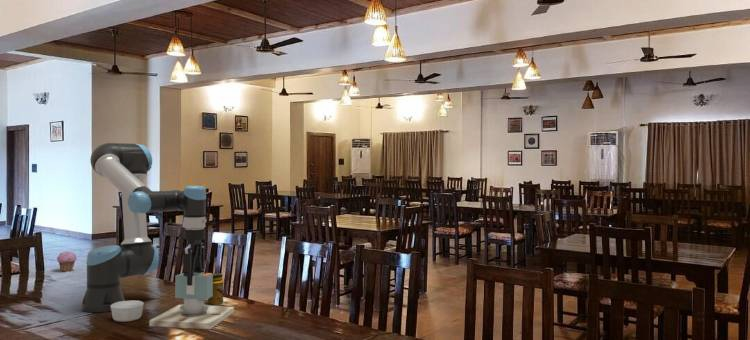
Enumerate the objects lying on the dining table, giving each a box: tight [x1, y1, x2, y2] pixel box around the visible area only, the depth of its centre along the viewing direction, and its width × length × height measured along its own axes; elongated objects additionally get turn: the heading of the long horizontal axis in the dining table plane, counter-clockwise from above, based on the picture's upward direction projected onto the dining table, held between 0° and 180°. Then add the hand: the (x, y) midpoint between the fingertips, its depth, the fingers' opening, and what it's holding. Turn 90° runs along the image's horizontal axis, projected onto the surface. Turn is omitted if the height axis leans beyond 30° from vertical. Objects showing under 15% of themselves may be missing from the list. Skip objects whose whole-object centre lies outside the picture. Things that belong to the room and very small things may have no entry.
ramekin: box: [110, 299, 145, 323], centre depth 201 cm, size 11×11×5 cm
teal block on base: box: [174, 272, 213, 314], centre depth 202 cm, size 12×7×14 cm, turn 83°
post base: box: [148, 304, 235, 330], centre depth 202 cm, size 22×22×2 cm
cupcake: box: [56, 251, 77, 273], centre depth 285 cm, size 9×9×10 cm
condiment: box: [204, 272, 227, 306], centre depth 224 cm, size 7×8×12 cm
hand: (194, 292), depth 202 cm, fingers closed on teal block on base, 5 cm apart
